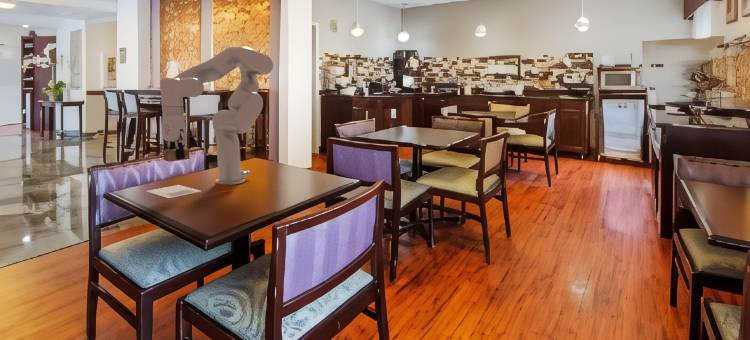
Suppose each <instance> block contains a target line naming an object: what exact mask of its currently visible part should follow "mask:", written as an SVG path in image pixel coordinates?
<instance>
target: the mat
mask: <svg viewBox="0 0 750 340" xmlns="http://www.w3.org/2000/svg"><path fill="white" fill-rule="evenodd" d="M146 192H147V193H150V194H154V195H156V196H159V197H164V198H166V199H172V198H175V197H177V198H178V197H181V196H185V195H186V196H187V195H190V194H195V193H200V192H202V190H199V189H197V188H193V187H188V186H185V185H182V184H181V185H180V184H176V185H171V186H165V187H159V188H155V189H149V190H146Z"/></svg>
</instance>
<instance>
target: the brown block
mask: <svg viewBox="0 0 750 340" xmlns="http://www.w3.org/2000/svg"><path fill="white" fill-rule="evenodd" d="M162 152H163V159H164V160H163V161H165V162H171V163H172V162H177V161H183V160H185V161H186V160H190V159H191V157H190V156H191V155H190V148H188V147H187V148H186V147H185V148H184V154H185V158H184V159H176V149H169V148H168V149H163V151H162Z"/></svg>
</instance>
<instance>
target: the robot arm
mask: <svg viewBox="0 0 750 340" xmlns="http://www.w3.org/2000/svg"><path fill="white" fill-rule="evenodd" d="M237 68H239V71H240V76H241V77H240V82H239V84H238V86H237V87H236V88H235V90H234V92H232V94H231V95H230V98H229V99H228V101H227V106H228V109H221V110H218V111H216V112H215V113H214V114H213V116H212V123H211V124H212V128H213V130H214V135H215V142H216V155H217V156H216V157H217V169H218V171H217V172H218V178H216V179H215V180H214V182H215V184H218V185H227V186H233V185H239V184H243V183H245V182H246V178H245V177H246V176H249V175H251V171H250V170H245V171H244V170H242V163H241V148H240V145H241V144H240V139H239V136H238V134H245V133H247V132H248V131H249V130H250V129H251V127H252V126H253V125H254V123H255V122H256V120H257V119H258V117H259V116H260V114H261V113H262V111H263V110H262V109H263V107H264V100H263V97H262V96H261V95H260V94H259V93H258V92H259V90H260V84H259V80H258V75H259V76H260V75H263V76H264V75H269V74H270V73H271V72H272V71H273V69H274V62H273V60H272V58H271V57H270V56H269V55H267V54H265V53H263V52H260V51H259V50H258V51H257V50H255V49H253V48H250V47H248V46H230V47H227V48H225V49H223V50H222V51H221V52H219V53H217V54H216V55H215V56H213V57H211V58H210V59H208V60H206V61H204V62H202V63H200V64H198V65H195V66H192V67H190V68H188V69H185V70H184V71H182V72H181V73H179V74H177V75H176V76H175V77H165V78H164V77H163V78H161V79H160V80H159V87H160V88H159V89H160V99H161V100H160V101H161V111H162V112H161V113H162V118H161V119H162V120H161V128H162V129H161V132H162V139H163V140H164V141H166V143H167V148H168V149H176V159H184V158H185V154H184V148H186V147H185V145H186V144H187V142H188V141H187V127H186V119H185V116H184V115H185V110H184V100H183V99H184V98H196V97H199V96H201V95H202V94H203V93H204V90H205V86H204V84H207V83H211V82H215V81H218V80H221V79H222V78H223V77H225V76H226V75H228V74H229V73H231V72H232V71H233V70H235V69H237Z"/></svg>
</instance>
